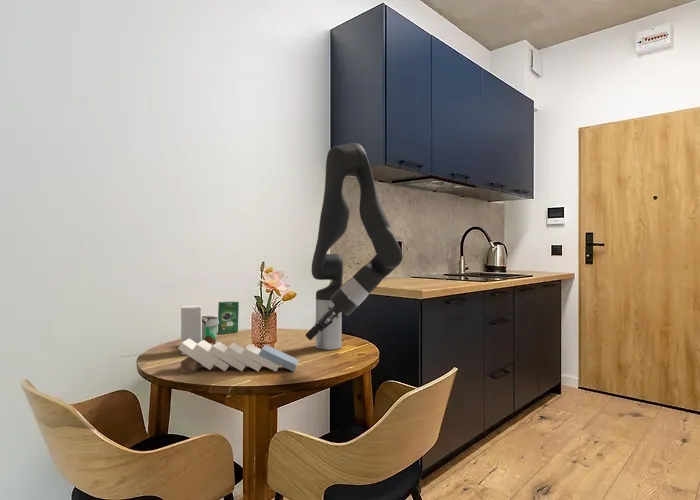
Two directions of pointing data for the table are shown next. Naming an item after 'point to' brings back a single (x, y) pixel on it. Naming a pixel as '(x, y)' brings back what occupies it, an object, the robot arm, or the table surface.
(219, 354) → the domino
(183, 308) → the skincare box
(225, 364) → the domino
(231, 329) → the coffee box
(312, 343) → the table surface
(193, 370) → the block
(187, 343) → the domino
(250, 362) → the domino
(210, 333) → the food container
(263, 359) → the domino
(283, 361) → the domino
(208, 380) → the table surface
